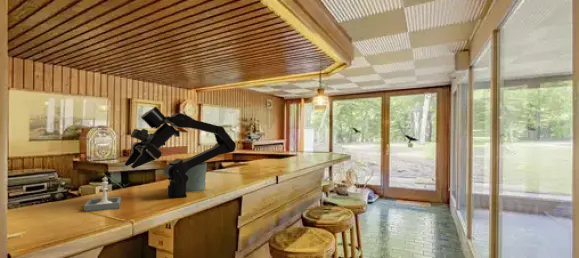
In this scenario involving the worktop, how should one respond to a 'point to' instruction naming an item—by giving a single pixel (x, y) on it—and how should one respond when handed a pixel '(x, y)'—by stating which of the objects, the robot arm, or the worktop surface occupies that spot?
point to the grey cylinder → (196, 178)
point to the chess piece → (104, 192)
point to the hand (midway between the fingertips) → (128, 166)
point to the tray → (93, 205)
